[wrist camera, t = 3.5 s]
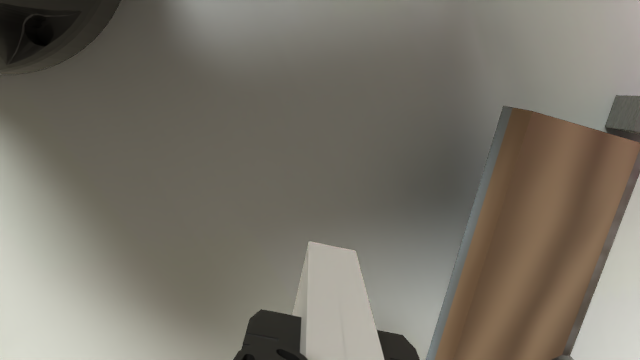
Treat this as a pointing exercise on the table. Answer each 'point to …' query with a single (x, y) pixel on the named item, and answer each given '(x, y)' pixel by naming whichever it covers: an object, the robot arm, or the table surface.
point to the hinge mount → (624, 116)
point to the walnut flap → (535, 239)
